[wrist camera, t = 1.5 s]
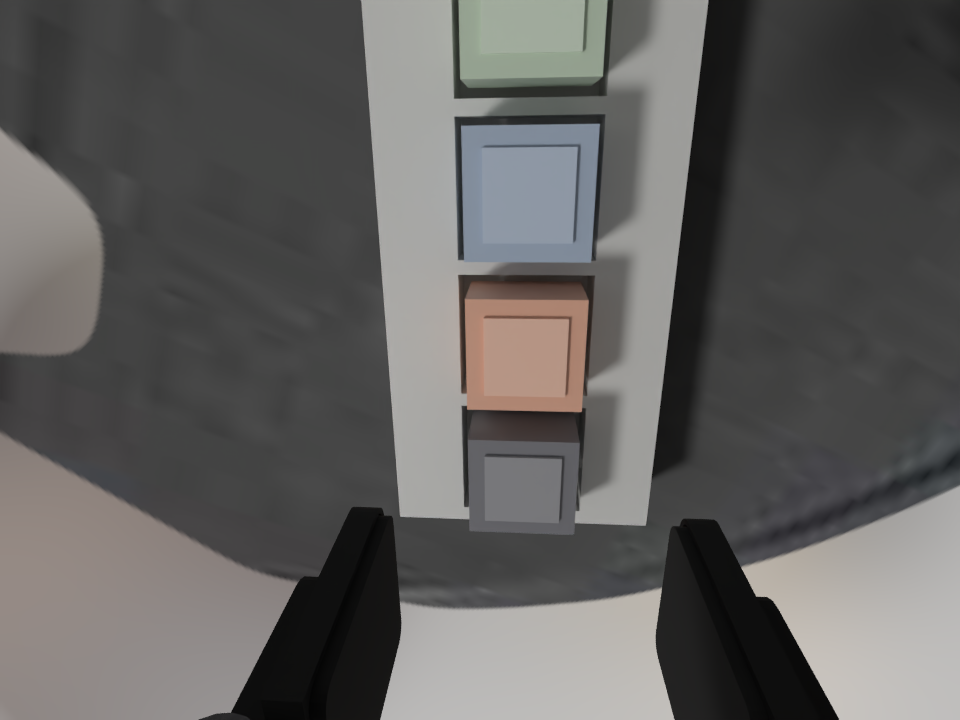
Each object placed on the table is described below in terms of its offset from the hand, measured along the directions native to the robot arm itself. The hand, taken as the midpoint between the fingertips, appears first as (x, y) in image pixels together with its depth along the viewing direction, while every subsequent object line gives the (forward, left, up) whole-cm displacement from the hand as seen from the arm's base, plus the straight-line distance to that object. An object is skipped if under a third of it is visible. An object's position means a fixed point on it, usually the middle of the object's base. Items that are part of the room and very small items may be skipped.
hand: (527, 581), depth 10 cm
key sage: (0, -12, -15) cm, 19 cm away
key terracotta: (0, 0, -15) cm, 15 cm away
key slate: (0, -6, -15) cm, 16 cm away
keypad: (0, -3, -17) cm, 18 cm away
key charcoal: (0, +6, -15) cm, 16 cm away
